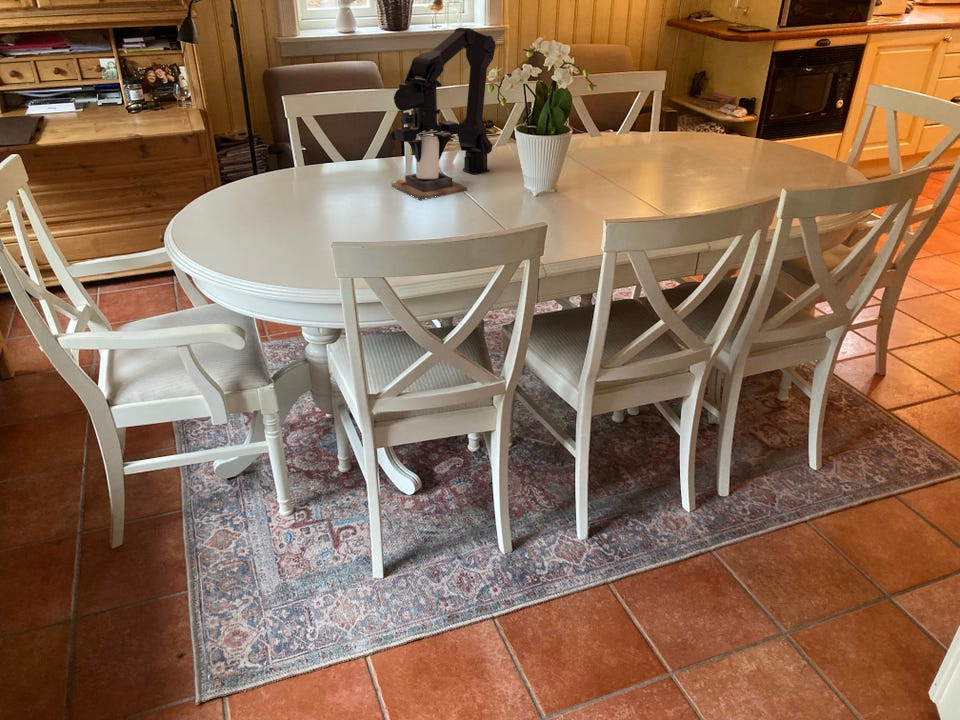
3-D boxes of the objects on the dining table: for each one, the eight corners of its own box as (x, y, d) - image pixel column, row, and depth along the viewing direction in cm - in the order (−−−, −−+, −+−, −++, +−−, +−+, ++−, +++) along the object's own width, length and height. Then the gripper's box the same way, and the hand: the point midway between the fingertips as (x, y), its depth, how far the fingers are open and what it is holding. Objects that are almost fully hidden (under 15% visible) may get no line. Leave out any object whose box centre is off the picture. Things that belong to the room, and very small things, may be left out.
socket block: (437, 177, 231) (437, 166, 229) (466, 190, 219) (466, 178, 218) (391, 186, 223) (391, 174, 221) (420, 200, 211) (419, 188, 210)
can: (423, 179, 214) (424, 135, 210) (412, 178, 219) (412, 135, 215) (442, 179, 218) (443, 136, 214) (430, 177, 223) (431, 135, 219)
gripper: (439, 97, 220) (440, 151, 227) (383, 104, 210) (386, 160, 218) (460, 103, 212) (461, 158, 220) (403, 111, 202) (406, 168, 210)
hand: (428, 161), depth 217 cm, fingers closed on can, 6 cm apart
